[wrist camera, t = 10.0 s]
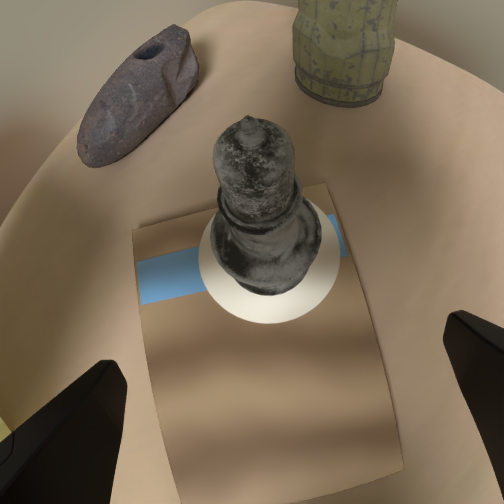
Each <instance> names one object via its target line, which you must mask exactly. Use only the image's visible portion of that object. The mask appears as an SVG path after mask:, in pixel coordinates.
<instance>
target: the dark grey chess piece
mask: <svg viewBox="0 0 504 504" xmlns="http://www.w3.org/2000/svg"><path fill="white" fill-rule="evenodd" d="M213 164H214V169H215V172H216V174H217V177H218V180H219V183H220V187H219V189H218V196H217V201H218V208H219V209H218V211H217V212H216V214H215V217H214V219H213V222H212V224H211V232H210V241H211V247H212V251H213V253H214V256H215V258H216V260H217V262H218V264H219V265H220V266H221V267H222V268H223V269H224V270H225V271H226V273H227V274H229V275H230V276H232V277H233V278H234V279H235V280H236V282H237V283H238V284H239V285H240V286H241V287H243V288H244V289H246V290H248V291H249V292H251V293H255V294H258V295H262V296H274V295H279V294H283V293H285V292H287V291H289V290H291V289H293V288H295V287H296V286H297V285H298V284H299V283H300V282H301V281H302V280H303V278H304V277H305V275H306V274H307V272H308V270H309V267H310V266H311V264H312V263H313V261H314V259H315V258H316V256H317V254H318V251H319V248H320V244H321V240H322V230H321V223H320V220H319V217H318V214H317V212H316V211H315V209H314V207H313V206H312V204H311V203H310V202H309V201H308V200H307V199H306V198H305V197H304V196H303V189H302V186H301V183H300V180H299V179H298V177H297V176H296V174H295V173H294V148H293V145H292V142H291V139H290V137H289V135H288V134H287V133H286V131H285V130H284V129H282V128H281V127H280V126H278V125H277V124H275V123H273V122H270V121H268V120H264V119H255V118H253V117H251V116H248V115H247V116H245V117H244V118H243V119H242V120H241V121H239V122H237V123H235V124H233V125H231V126H230V127H228V128H227V129H226V130H225V131H224V132H223V133H222V134H221V136H220V137H219V138H218V140H217V142H216V144H215V146H214V151H213Z"/></svg>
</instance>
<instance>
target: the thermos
mask: <svg viewBox="0 0 504 504" xmlns="http://www.w3.org/2000/svg"><path fill="white" fill-rule="evenodd" d="M298 1H299V2H298V7H299V11H298V14H297V16H296V19H295V21H294V23H293V58H294V61H295V63H296V67H295V81H296V82H297V84H298V86H299V87H300V89H301V90H302V91H304V92H305V93H306V94H307V95H309V96H310V97H312V98H314V99H316V100H318V101H320V102H322V103H325V104H329V105H333V106H337V107H351V108H353V107H359V106H366V105H368V104H370V103H372V102H374V101H376V99H377V98H378V97H379V96H380V95H381V92H382V87H383V81H384V78H385V77H386V76H387V75H388V72H389V68H390V64H391V61H392V56H393V52H394V45H395V41H394V34H393V22H394V17H395V12H396V7H397V1H398V0H298Z"/></svg>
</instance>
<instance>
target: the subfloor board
mask: <svg viewBox="0 0 504 504" xmlns="http://www.w3.org/2000/svg"><path fill="white" fill-rule="evenodd" d="M302 189H303V196H304V197H305V198H306V199H307V200H308V201H309V202H310V203H311V204H312V206H313V207H314V209H315V211H316V212H317V214H318V217H319V220H320V223H321V230H322V240H321V244H320V248H319V251H318V254H317V256H316V258H315V259H314V261H313V263H312V264H311V266H310V267H309V270H308V272H307V274H306V275H305V277H304V278H303V280H302V281H301V282H300V283H299V284H298V285H297V286H296V287H295V288H293V289H291V290H289V291H287V292H285V293H283V294H279V295H274V296H262V295H258V294H255V293H251V292H249V291H248V290H246V289H244V288H243V287H241V286H240V285H239V284H238V283H237V282H236V280H235V279H234V278H233V277H232V276H230V275H229V274H227V273H226V271H225V270H224V269H223V268H222V267H221V266H220V265H219V264H218V262H217V260H216V258H215V256H214V253H213V251H212V247H211V241H210V232H211V224H212V222H213V219H214V217H215V214H216V212H217V211H218V209H219V208H218V207H217V208H213V209H209V210H205V211H201V212H198V213H194V214H190V215H186V216H182V217H179V218H175V219H171V220H168V221H164V222H160V223H157V224H153V225H150V226H146V227H143V228H139V229H136V230H132V238H133V253H134V265H135V276H136V286H137V295H138V303H139V312H140V319H141V327H142V334H143V340H144V347H145V353H146V359H147V365H148V370H149V376H150V381H151V386H152V392H153V396H154V401H155V406H156V411H157V415H158V420H159V424H160V428H161V432H162V437H163V441H164V445H165V448H166V452H167V456H168V460H169V463H170V467H171V471H172V474H173V478H174V481H175V484H176V488H177V491H178V494H179V497H180V500H181V504H289V503H294V502H299V501H304V500H308V499H313V498H317V497H321V496H325V495H329V494H332V493H336V492H340V491H343V490H347V489H350V488H353V487H356V486H360V485H363V484H366V483H369V482H372V481H374V480H377V479H380V478H383V477H386V476H388V475H391V474H393V473H396V472H399V471H401V470H403V469H404V466H403V460H402V454H401V448H400V442H399V437H398V431H397V426H396V421H395V416H394V411H393V406H392V402H391V397H390V393H389V388H388V384H387V379H386V375H385V371H384V367H383V363H382V359H381V355H380V351H379V347H378V343H377V340H376V336H375V332H374V328H373V325H372V321H371V318H370V314H369V311H368V307H367V304H366V301H365V297H364V294H363V291H362V287H361V284H360V281H359V278H358V274H357V271H356V268H355V265H354V262H353V259H352V256H351V253H350V250H349V247H348V244H347V241H346V238H345V235H344V233H343V230H342V227H341V224H340V221H339V218H338V216H337V213H336V210H335V208H334V205H333V202H332V199H331V197H330V194H329V192H328V189H327V186H326V184H325V183H320V184H315V185H311V186H306V187H302Z"/></svg>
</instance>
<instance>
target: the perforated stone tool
mask: <svg viewBox="0 0 504 504" xmlns="http://www.w3.org/2000/svg"><path fill="white" fill-rule="evenodd" d="M198 70H199V64H198V62H197V57H196V56H195V53H194V50H193V48H192V46H191V39H190V35H189V32H188V31H187V30H186V29H183V28H181V27H179V26H176V25H175V24H173V25H171V26H170V27H168V28H166V29H164V30H163V31H161V32H160V33H159V34H157V35H156V36H154V37H152V38H151V39H150V40H148V41H147V42H146V43H144V44H143V45H142V46H140V47H139V48H138V49H137V50H135V51H134V52H133V53H132V54H131V55H130V56H129V57H128V58H127V59H126V60H125V61H124V62H123V63H122V64H121V65H120V66H119V67H118V69H116V71H115V72H114V73H113V74H112V75H111V77H110V78H109V79H108V81H107V82H106V83H105V84H104V86H103V87H102V88H101V89H100V91H99V92H98V94H97V95H96V97H95V98H94V100H93V101H92V103H91V105H90V106H89V108H88V110H87V112H86V113H85V116H84V118H83V120H82V123H81V126H80V129H79V133H78V136H77V151H78V155H79V157H80V158H81V159H82V162H83V163H84V164H85V165H87V166H88V167H92V168H100V167H103V166H107V165H109V164H112V163H113V162H115V161H117V160H119V159H120V158H122V157H123V156H125V155H126V154H128V153H129V152H130V151H132V150H133V149H134V148H135V147H136V146H137V145H139V144H140V143H141V142H142V141H143V140H144V139H145V138H146V137H147V136H148V135H149V134H150V132H151V131H153V130H154V129H155V128H156V127H158V125H159V124H160V123H161V122H162V121H163V120H165V119H166V118H167V117H168V116H169V115H170V114H171V113H172V112H173V111H174V110H175V109H176V108H177V107H178V106H179V104H180V103H181V102H182V101H183V100H185V98H186V95H187V94H188V92H190V91H191V90H192V89H193V87H194V86H196V84H197V83H198V80H197V77H198Z"/></svg>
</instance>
